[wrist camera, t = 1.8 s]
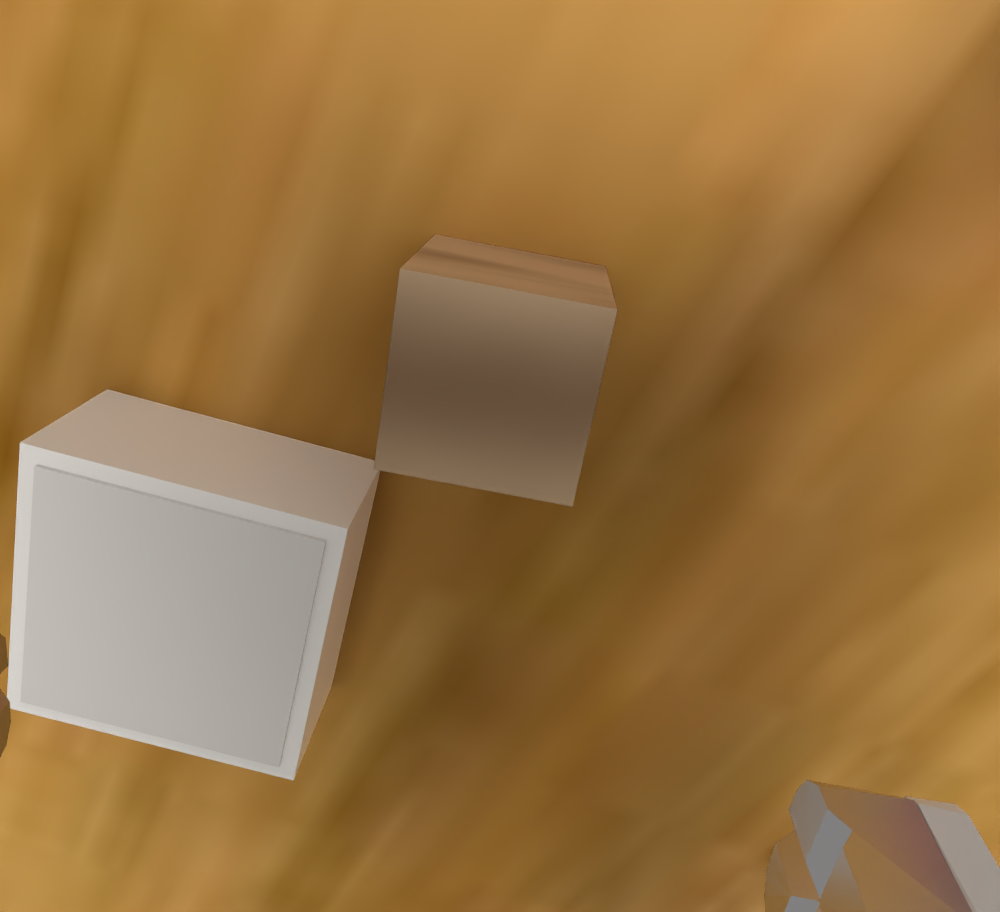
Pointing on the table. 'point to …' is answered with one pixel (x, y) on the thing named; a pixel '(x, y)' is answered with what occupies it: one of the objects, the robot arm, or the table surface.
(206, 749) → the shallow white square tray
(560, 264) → the oak block
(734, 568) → the table surface
